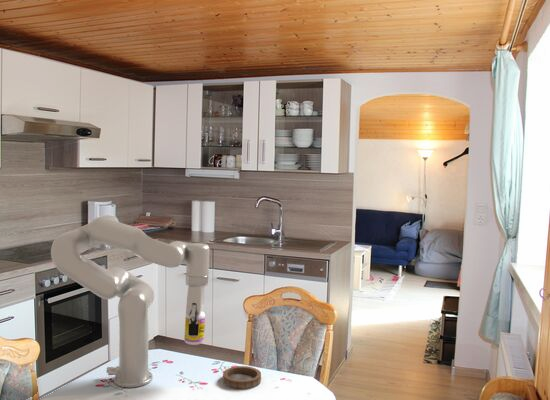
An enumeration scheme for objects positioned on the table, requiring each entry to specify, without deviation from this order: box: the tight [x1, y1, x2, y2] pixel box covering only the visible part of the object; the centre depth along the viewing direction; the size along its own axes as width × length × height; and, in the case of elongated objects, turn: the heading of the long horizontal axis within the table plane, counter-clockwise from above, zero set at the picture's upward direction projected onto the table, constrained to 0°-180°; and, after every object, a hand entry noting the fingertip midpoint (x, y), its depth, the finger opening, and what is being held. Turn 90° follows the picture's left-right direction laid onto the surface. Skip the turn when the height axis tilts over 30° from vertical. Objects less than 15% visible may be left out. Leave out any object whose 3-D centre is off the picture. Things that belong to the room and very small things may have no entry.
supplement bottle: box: [183, 305, 206, 346], centre depth 170 cm, size 7×7×13 cm
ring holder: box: [222, 365, 262, 390], centre depth 172 cm, size 13×13×3 cm
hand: (194, 331), depth 170 cm, fingers closed on supplement bottle, 6 cm apart
